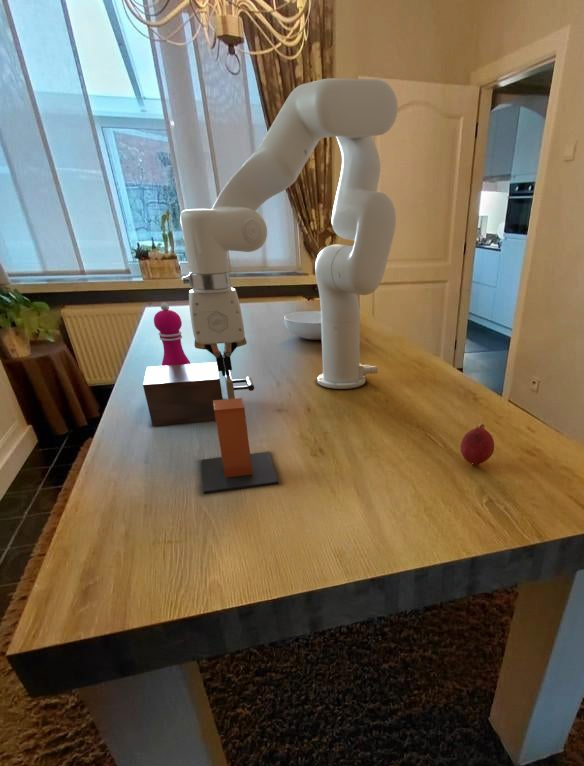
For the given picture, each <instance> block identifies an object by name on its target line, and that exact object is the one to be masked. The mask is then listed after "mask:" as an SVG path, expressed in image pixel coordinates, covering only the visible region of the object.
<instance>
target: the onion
mask: <svg viewBox="0 0 584 766" xmlns="http://www.w3.org/2000/svg"><path fill="white" fill-rule="evenodd" d="M485 427H486V425H485V424H484V423H482V422H481V423H478V424H477V425H476V427H475V428H473V429H471V430H469V431H468V432H466V433H465V434H464V436H463V437H462V440H461V443H460V453H461V455H462V457H463V459H464V460H465V461H466V462H467V463H468V464H470V465H472V466H474V467H476V466H477V467H478V466H479V465H481V464H483V463H485V462H487V461H488V460H489V459H490V458H491V457H492V456H493V455H494V452H495V451H494V450H495V441H494V438H493V436H492V434H491V433H490V432H489V431H487V430H486V429H485ZM472 463H473V464H472ZM480 463H481V464H480Z"/></svg>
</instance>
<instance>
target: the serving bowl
mask: <svg viewBox="0 0 584 766" xmlns="http://www.w3.org/2000/svg"><path fill="white" fill-rule="evenodd" d="M283 320H284V325H285V327H286V329H287V330H288V332H290V333H291V334H292V335H293V336H296V337H298V338H302V339H305V340H308V341H322V333H321V310H305V311H296V312H290V313H288V314H285V315H284V316H283Z"/></svg>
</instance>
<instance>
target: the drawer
mask: <svg viewBox="0 0 584 766" xmlns="http://www.w3.org/2000/svg"><path fill="white" fill-rule="evenodd" d="M225 373H226V372H225ZM229 374H230V376H227V375H225V376H224V380H225V386H226V387H225V388H226V394H227V399H236V397H235V396H236V395H235V391H242V390H243V391H244V390H248V391H250V392H253V391H254V390H255V385H254V382H253V379H252V377H251V376H246V377H245V378H240V379H233V378H232V373H231V370H229ZM241 383H242V384H243V383H245V384H246V385H239V386H234V384H241Z"/></svg>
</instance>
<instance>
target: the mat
mask: <svg viewBox="0 0 584 766" xmlns="http://www.w3.org/2000/svg"><path fill="white" fill-rule="evenodd" d="M250 457H251V464H252V472H253V474H252V475H244V476H236V477H229V478H225V474H224V468H223V462H222V456H219V457H211V458H203V459H201V469H202V470H201V471H202V472H201V473H202V487H203V494H210V493H218V492H225V491H233V490H241V489H248V488H255V487H263V486H270V485H277V484H278V485H279V480H278V476H277V474H276V470H275V467H274V464H273V462H272V458H271V454H270V452H269V451H264V452H255V453H254V452H253V453H250Z"/></svg>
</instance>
